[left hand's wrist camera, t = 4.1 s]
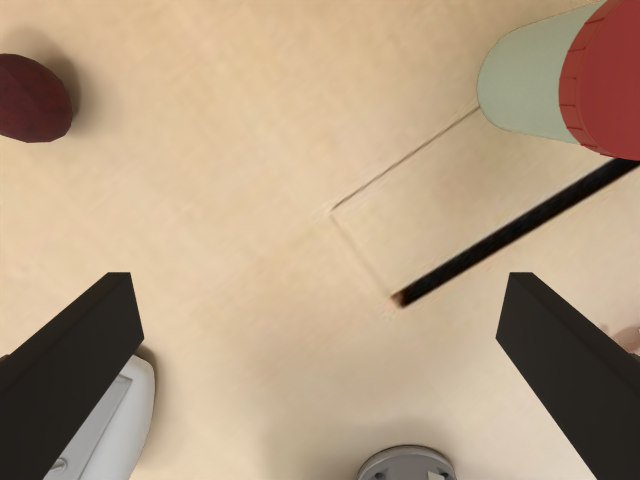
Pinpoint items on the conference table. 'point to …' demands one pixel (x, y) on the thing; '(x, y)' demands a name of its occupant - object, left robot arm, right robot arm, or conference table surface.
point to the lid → (605, 81)
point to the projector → (112, 429)
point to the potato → (32, 101)
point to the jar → (530, 75)
